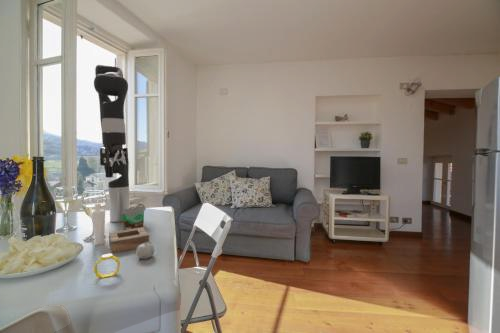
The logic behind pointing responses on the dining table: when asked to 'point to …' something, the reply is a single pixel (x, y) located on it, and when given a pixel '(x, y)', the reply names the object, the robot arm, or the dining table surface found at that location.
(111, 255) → the watch
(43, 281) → the dining table surface
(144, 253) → the garlic
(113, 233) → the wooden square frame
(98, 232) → the white faceted vase
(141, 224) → the food container
